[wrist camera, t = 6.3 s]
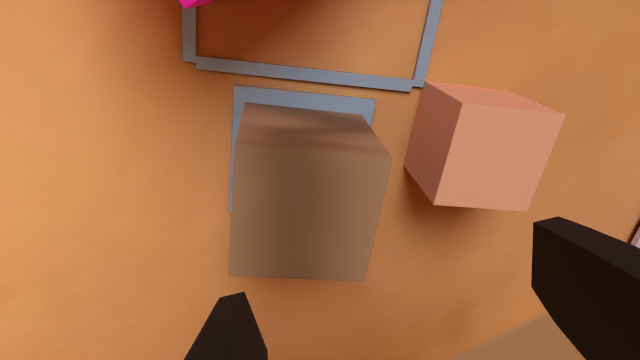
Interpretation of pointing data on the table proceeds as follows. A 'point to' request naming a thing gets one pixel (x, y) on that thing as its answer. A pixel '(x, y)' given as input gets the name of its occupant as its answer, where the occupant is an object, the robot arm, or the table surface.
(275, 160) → the walnut cube
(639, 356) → the robot arm
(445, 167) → the terracotta block
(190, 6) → the toy block
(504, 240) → the table surface
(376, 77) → the frame
